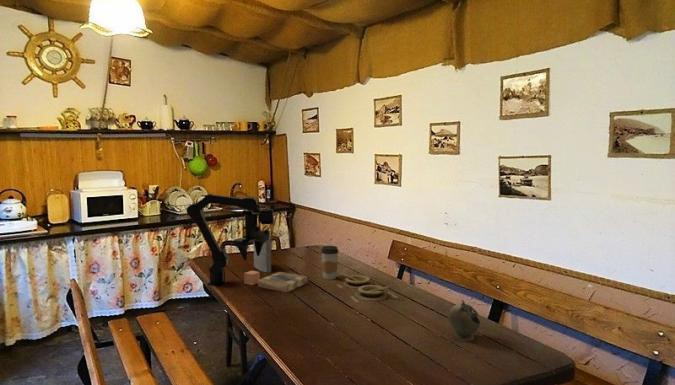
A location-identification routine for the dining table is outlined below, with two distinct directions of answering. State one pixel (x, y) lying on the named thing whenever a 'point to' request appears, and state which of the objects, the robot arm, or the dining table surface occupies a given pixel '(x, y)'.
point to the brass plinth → (282, 281)
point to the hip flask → (263, 257)
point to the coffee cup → (329, 262)
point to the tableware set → (365, 288)
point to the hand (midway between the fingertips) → (251, 257)
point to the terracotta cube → (251, 277)
